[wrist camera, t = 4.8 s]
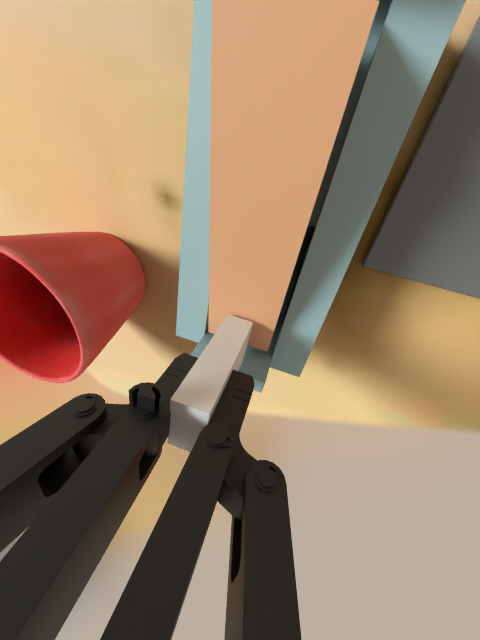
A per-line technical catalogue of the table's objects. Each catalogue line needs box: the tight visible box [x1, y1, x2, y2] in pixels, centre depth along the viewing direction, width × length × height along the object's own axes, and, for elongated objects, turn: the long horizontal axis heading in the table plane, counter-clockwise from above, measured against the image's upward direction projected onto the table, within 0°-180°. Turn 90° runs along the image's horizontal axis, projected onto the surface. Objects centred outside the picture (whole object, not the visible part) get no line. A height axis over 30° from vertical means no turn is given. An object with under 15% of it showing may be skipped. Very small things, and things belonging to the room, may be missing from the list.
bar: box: [208, 0, 379, 352], centre depth 13 cm, size 14×4×4 cm, turn 170°
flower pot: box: [0, 232, 146, 383], centre depth 21 cm, size 11×11×10 cm
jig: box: [176, 0, 466, 393], centre depth 14 cm, size 18×9×9 cm, turn 170°
